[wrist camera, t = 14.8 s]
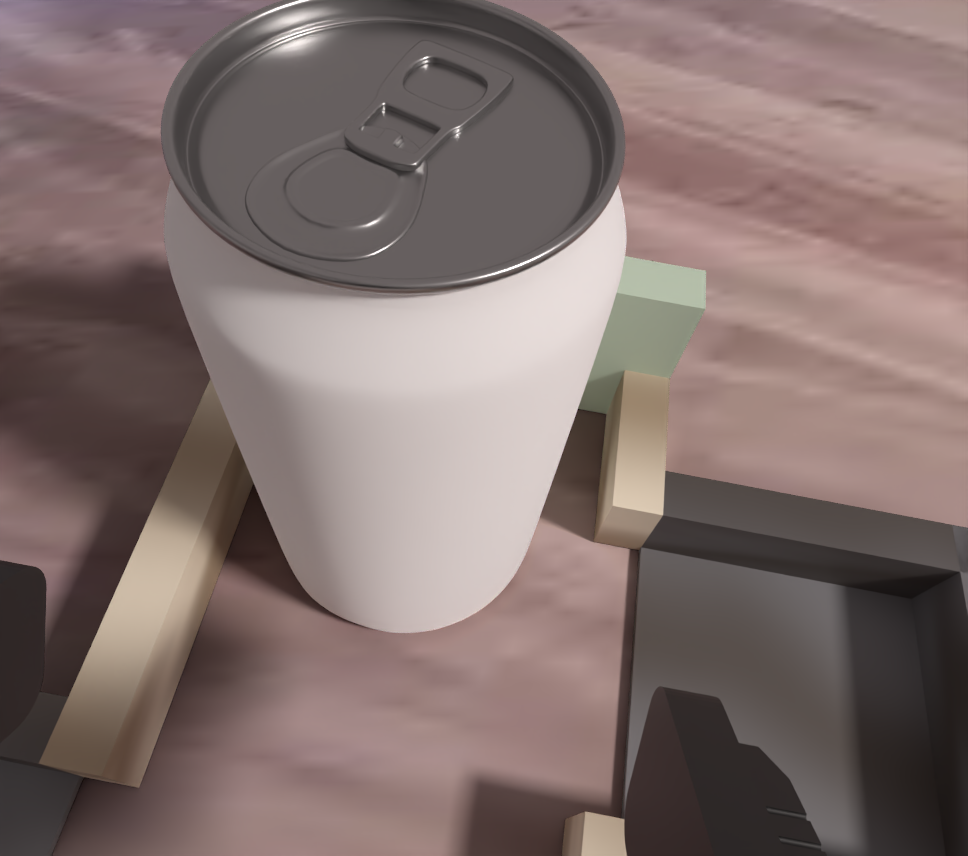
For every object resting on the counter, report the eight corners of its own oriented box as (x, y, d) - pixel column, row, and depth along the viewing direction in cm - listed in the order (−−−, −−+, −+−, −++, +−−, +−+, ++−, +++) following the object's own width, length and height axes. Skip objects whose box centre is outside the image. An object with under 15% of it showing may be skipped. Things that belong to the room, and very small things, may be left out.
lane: (1177, 1992, 10) (1362, 2263, 8) (-857, 1528, 10) (-1146, 1676, 8) (925, 439, 22) (973, 398, 20) (7, 268, 22) (-30, 212, 21)
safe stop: (647, 422, 21) (705, 308, 17) (260, 349, 22) (222, 220, 17) (649, 388, 22) (705, 270, 18) (273, 317, 22) (239, 185, 18)
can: (226, 556, 18) (-10, 158, 8) (371, 373, 22) (332, -82, 11) (453, 691, 17) (509, 423, 7) (572, 476, 20) (732, 73, 10)
